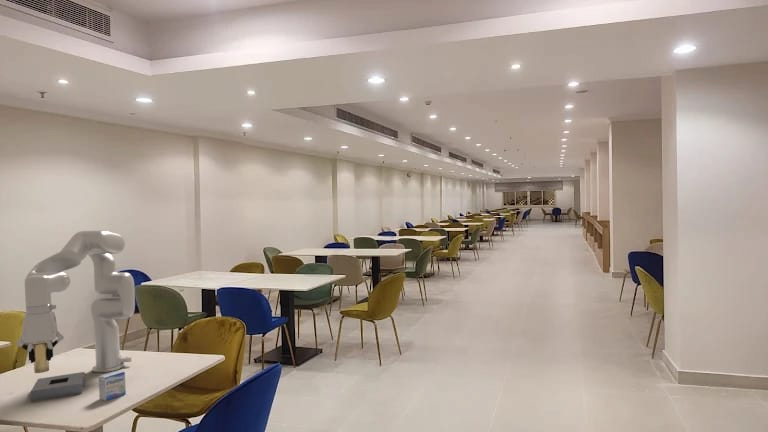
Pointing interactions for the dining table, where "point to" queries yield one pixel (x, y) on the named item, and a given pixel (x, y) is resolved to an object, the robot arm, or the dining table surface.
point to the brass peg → (40, 357)
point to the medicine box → (112, 385)
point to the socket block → (58, 386)
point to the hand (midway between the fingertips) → (41, 360)
